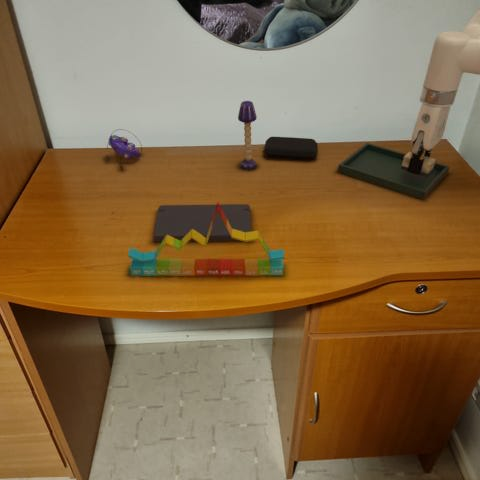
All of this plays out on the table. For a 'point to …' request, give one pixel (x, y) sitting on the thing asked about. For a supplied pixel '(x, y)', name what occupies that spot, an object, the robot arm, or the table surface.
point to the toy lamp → (247, 132)
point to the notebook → (201, 221)
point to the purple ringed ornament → (123, 147)
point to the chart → (174, 267)
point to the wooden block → (426, 167)
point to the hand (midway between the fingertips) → (416, 169)
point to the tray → (390, 171)
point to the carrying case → (291, 148)
